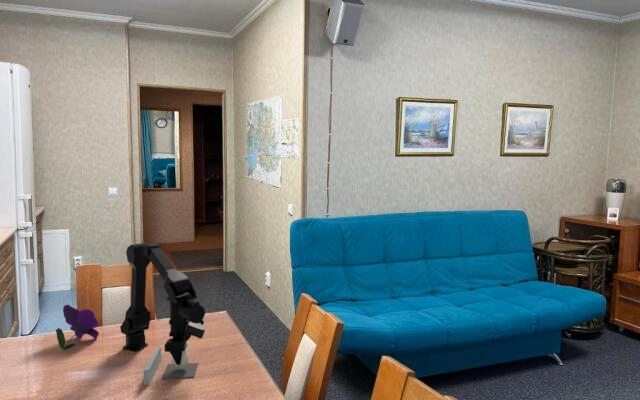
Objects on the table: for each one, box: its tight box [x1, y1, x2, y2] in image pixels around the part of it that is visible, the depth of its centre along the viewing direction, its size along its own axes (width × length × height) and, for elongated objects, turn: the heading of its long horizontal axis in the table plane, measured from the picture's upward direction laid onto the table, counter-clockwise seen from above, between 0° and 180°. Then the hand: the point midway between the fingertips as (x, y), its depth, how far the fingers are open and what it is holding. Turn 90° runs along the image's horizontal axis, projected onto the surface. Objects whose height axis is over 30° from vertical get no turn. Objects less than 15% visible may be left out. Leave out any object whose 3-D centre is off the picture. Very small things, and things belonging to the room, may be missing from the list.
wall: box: [143, 346, 162, 386], centre depth 163 cm, size 18×2×5 cm, turn 6°
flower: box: [55, 304, 100, 351], centre depth 184 cm, size 15×15×14 cm
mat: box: [161, 362, 199, 380], centre depth 164 cm, size 10×10×1 cm
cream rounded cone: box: [171, 346, 189, 369], centre depth 164 cm, size 5×5×6 cm
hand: (180, 361), depth 164 cm, fingers closed on cream rounded cone, 5 cm apart
